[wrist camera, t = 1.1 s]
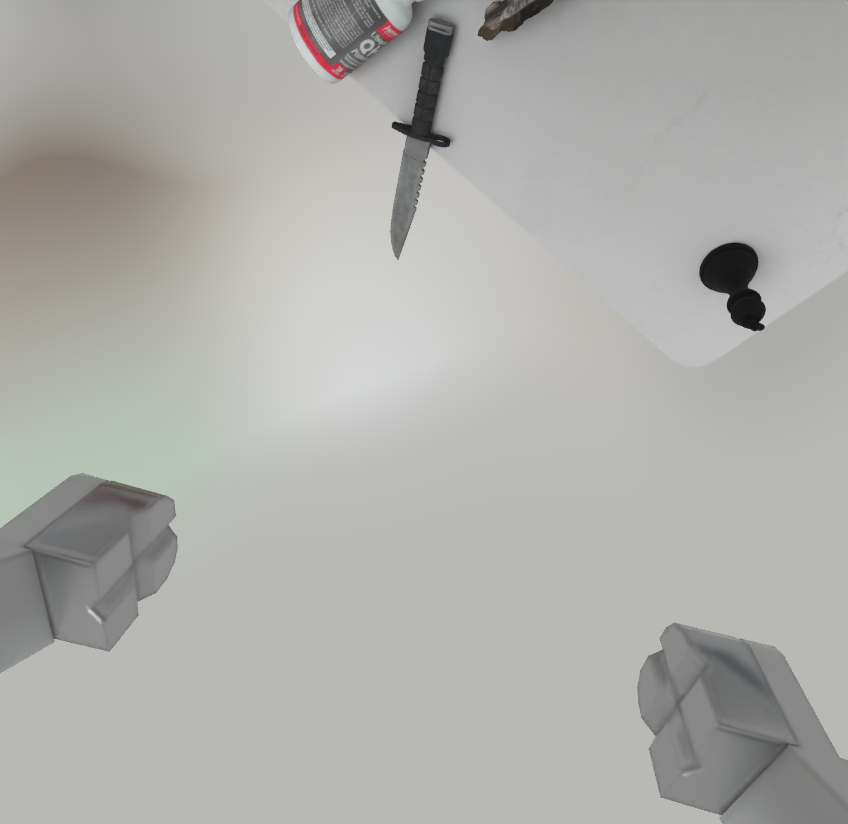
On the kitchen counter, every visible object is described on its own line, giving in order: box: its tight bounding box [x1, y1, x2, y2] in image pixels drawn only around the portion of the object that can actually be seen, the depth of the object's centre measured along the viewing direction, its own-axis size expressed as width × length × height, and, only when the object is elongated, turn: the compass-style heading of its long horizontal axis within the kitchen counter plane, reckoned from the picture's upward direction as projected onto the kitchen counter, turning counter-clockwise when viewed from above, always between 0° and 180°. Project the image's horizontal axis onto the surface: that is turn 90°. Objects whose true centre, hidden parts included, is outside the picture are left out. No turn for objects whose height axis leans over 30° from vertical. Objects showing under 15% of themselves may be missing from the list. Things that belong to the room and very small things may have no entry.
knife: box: [391, 18, 454, 259], centre depth 44 cm, size 19×2×5 cm
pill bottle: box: [288, 0, 424, 83], centre depth 36 cm, size 5×5×10 cm
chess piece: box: [700, 243, 766, 331], centre depth 41 cm, size 4×4×10 cm
